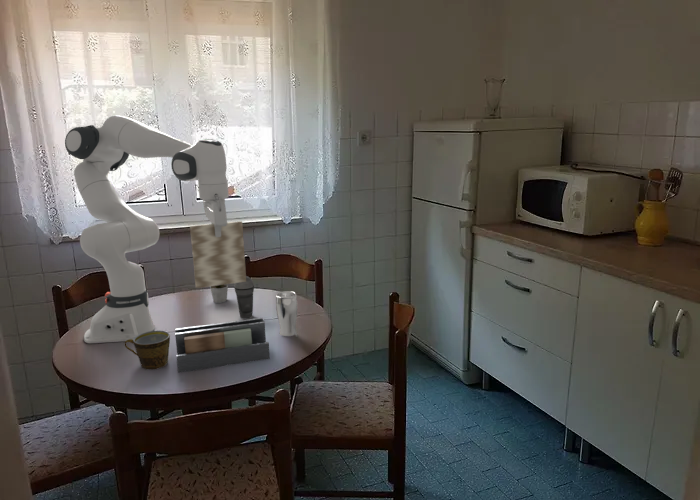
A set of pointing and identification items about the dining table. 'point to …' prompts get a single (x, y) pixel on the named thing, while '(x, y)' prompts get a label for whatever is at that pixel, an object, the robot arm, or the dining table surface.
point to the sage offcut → (237, 338)
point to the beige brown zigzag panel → (218, 254)
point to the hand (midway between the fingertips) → (217, 235)
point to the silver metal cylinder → (287, 312)
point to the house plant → (219, 293)
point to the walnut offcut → (204, 342)
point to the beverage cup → (245, 297)
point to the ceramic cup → (151, 349)
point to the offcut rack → (224, 355)
